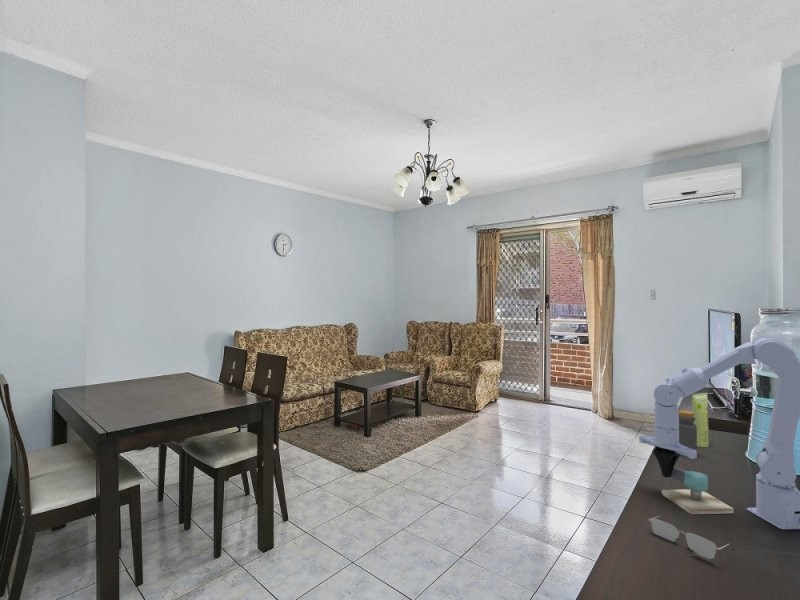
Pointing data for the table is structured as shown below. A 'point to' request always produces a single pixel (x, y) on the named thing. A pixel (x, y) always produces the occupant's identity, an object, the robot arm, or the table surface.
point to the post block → (697, 502)
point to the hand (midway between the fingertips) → (666, 476)
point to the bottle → (687, 429)
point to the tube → (701, 418)
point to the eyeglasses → (693, 540)
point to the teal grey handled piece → (690, 479)
